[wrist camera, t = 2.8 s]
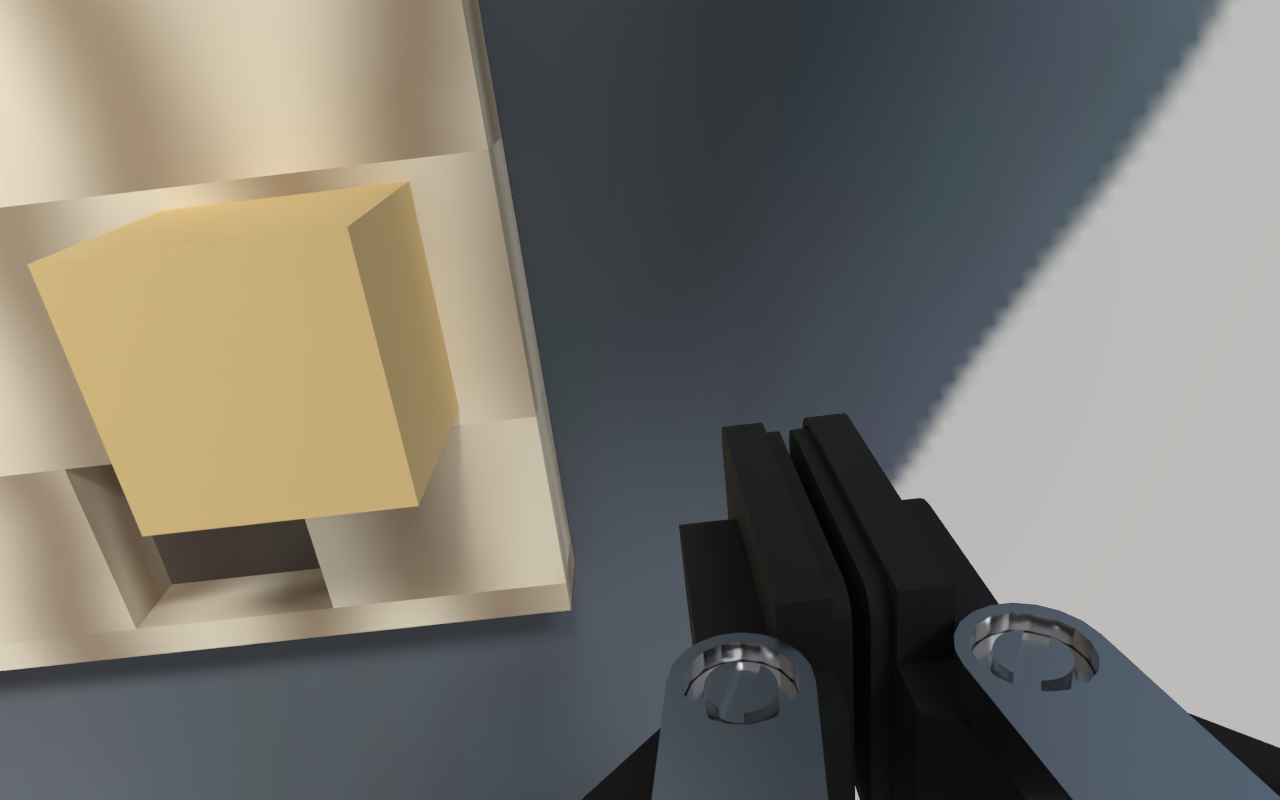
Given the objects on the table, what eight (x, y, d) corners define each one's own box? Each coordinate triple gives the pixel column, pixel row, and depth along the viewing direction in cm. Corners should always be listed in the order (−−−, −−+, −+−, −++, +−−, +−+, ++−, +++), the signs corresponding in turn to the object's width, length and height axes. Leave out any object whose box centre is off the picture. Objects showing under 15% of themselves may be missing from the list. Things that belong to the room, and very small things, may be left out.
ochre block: (409, 181, 20) (346, 226, 15) (459, 408, 22) (418, 506, 18) (161, 210, 20) (27, 264, 15) (238, 433, 22) (142, 536, 18)
